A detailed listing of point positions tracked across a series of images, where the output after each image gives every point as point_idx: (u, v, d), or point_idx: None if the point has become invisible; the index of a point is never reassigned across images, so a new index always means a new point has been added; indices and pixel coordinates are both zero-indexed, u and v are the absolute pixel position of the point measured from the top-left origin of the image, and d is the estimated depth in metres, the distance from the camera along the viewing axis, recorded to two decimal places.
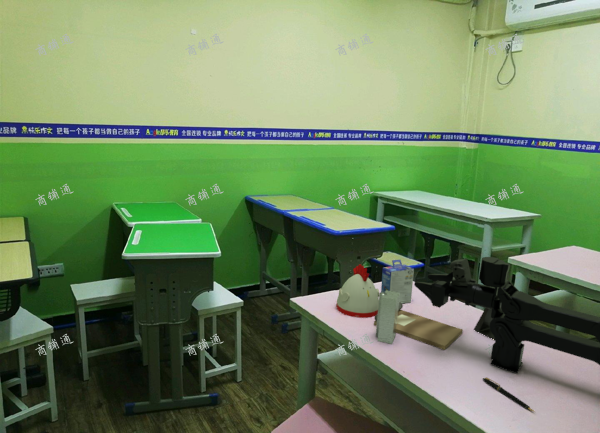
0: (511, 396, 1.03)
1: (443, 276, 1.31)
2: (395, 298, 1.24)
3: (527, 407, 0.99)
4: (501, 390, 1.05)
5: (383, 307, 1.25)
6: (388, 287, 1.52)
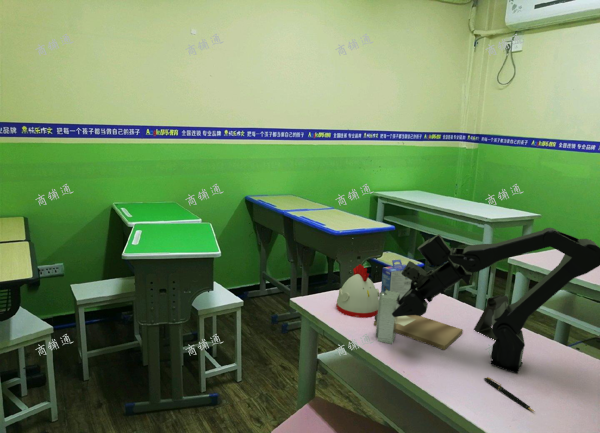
0: (512, 396, 1.03)
1: (409, 292, 1.29)
2: (395, 298, 1.24)
3: (527, 407, 0.99)
4: (502, 390, 1.05)
5: (383, 307, 1.25)
6: (388, 287, 1.52)
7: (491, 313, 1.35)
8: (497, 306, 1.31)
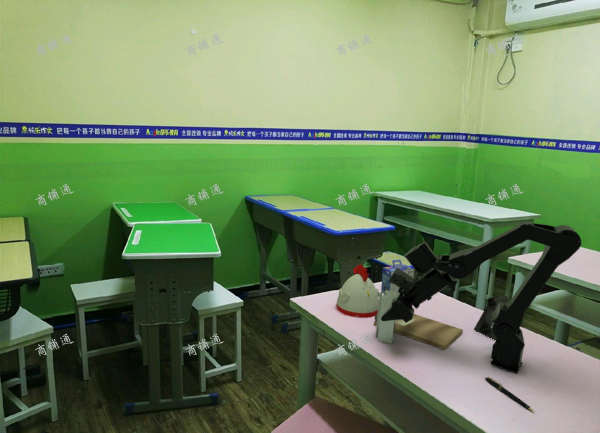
0: (512, 396, 1.03)
1: None
2: None
3: (527, 407, 0.99)
4: (502, 389, 1.05)
5: (383, 307, 1.25)
6: (388, 287, 1.52)
7: (491, 313, 1.35)
8: None
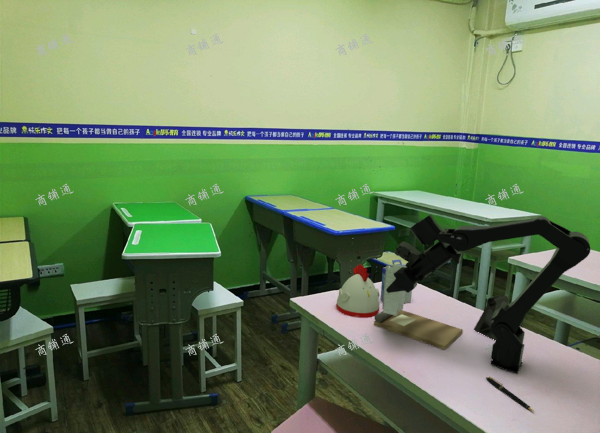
0: (512, 396, 1.03)
1: None
2: None
3: (527, 407, 0.99)
4: (503, 389, 1.05)
5: (388, 279, 1.28)
6: None
7: (491, 313, 1.35)
8: (497, 306, 1.31)
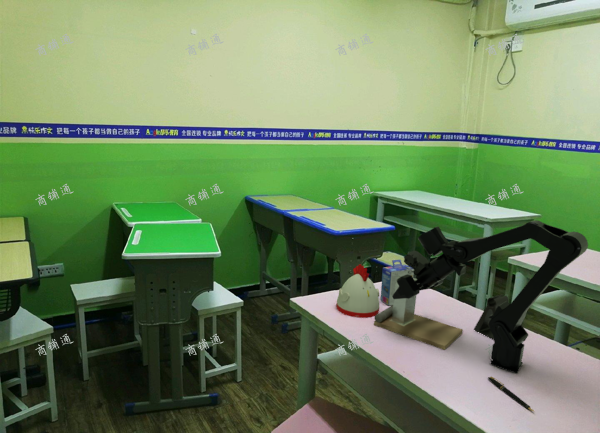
0: (513, 395, 1.03)
1: None
2: None
3: (527, 407, 0.99)
4: (504, 389, 1.05)
5: (396, 289, 1.36)
6: (388, 287, 1.52)
7: (491, 313, 1.35)
8: (497, 306, 1.31)
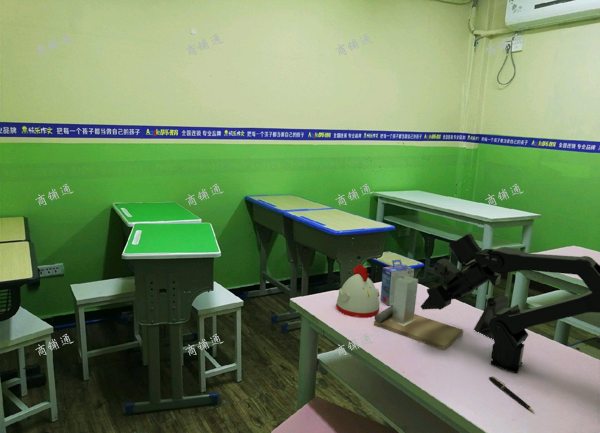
0: (513, 395, 1.03)
1: (447, 290, 1.33)
2: (408, 282, 1.34)
3: (527, 407, 0.99)
4: (505, 389, 1.06)
5: (396, 289, 1.36)
6: (388, 287, 1.52)
7: (491, 313, 1.35)
8: (497, 306, 1.31)
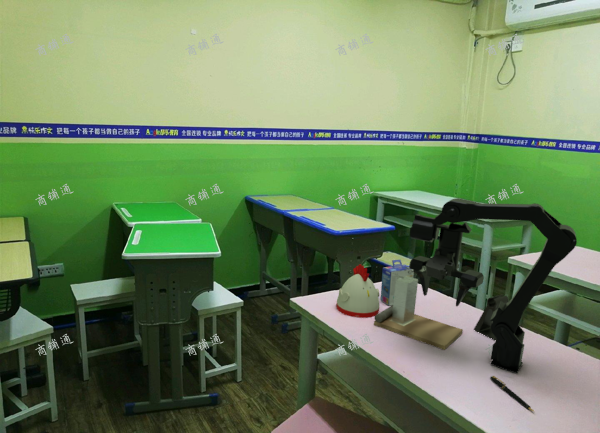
0: (514, 395, 1.03)
1: (425, 280, 1.26)
2: (408, 282, 1.34)
3: (527, 407, 0.99)
4: (505, 389, 1.06)
5: (396, 289, 1.36)
6: (388, 287, 1.52)
7: (491, 313, 1.35)
8: (497, 306, 1.31)
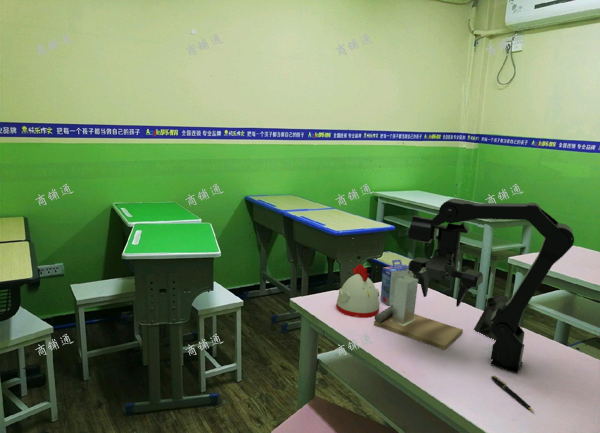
0: (514, 395, 1.03)
1: (424, 281, 1.25)
2: (408, 282, 1.34)
3: (528, 407, 0.99)
4: (506, 389, 1.06)
5: (396, 289, 1.36)
6: (388, 287, 1.52)
7: (491, 313, 1.35)
8: (497, 306, 1.31)
